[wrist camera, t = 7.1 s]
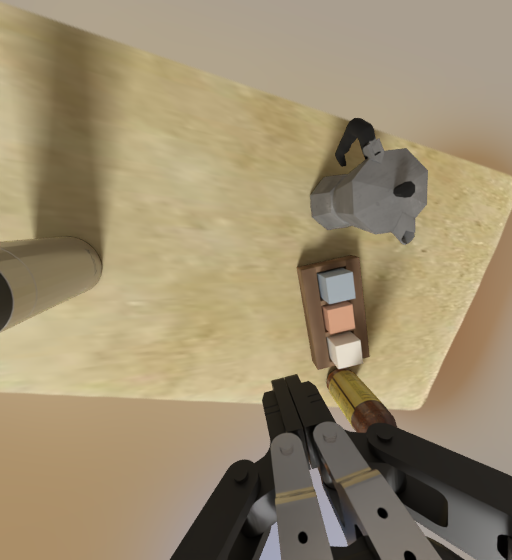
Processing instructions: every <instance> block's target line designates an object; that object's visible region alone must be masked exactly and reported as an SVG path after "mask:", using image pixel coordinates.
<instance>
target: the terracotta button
mask: <svg viewBox="0 0 512 560" xmlns="http://www.w3.org/2000/svg"><path fill="white" fill-rule="evenodd" d="M321 307H322V314H323V321H324V327H325V329H326V330H327V331H328V332H329V333H330V334H334V333H338V332H342V331H346V330H350V329H354V328H355V322H354V314H353V305H352V304H351V303H349V302H348V301H342V302H337V303H333V304H327V305H323V306H321Z"/></svg>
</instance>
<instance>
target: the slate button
mask: <svg viewBox="0 0 512 560" xmlns="http://www.w3.org/2000/svg"><path fill="white" fill-rule="evenodd" d="M317 277H318V284H319V291H320V297H321V298H322V299H323V300H325V301H326V302H327V303H328V304H333V303H337V302H342V301H346V300H350V299H354V298H356V297H355V288H354V279H353V272H351V271H349V270H346V269H344V268H337V269H333V270H328V271H324V272H320V273H317Z"/></svg>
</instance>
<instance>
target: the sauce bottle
mask: <svg viewBox="0 0 512 560" xmlns="http://www.w3.org/2000/svg"><path fill="white" fill-rule="evenodd" d="M327 388H328V389H329V391H330V394H331V395H332V397H333V398H334V400H335V401H336V403H337V404H338V406H339V407H340V409H341V410H342V412H343V413H344V415H345V416H346V418H347V419H348V421H349V422H350V424H351V426H352V427H353V429H354V430H355V431H356V432H361V433H366V431H367V428H368V427H369V426H370V425H372V424H374V423H387V424H390V425H392V426H394V427H397V426H396V422H395V419H394V417H393V416H392V415H391V413H390V412H389V411H388V410H387V408H386V407H385V406H384V405H383V404H382V403H381V401H380V400H379V399H378V398H377V397H376V396H375V395H374V394H373V393H372V391H371V390H370V389H369V388H368V387H367V386H366V385H365V384H364V383H363V382H362V381H361V380H360V379H359V378H358V376H357V375H356V374H355V373H353V372H352V371H351V370H349V369H346V368H342V369H336V370H334V371H333V372H331V373H330V374H329V376H328V378H327Z"/></svg>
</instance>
